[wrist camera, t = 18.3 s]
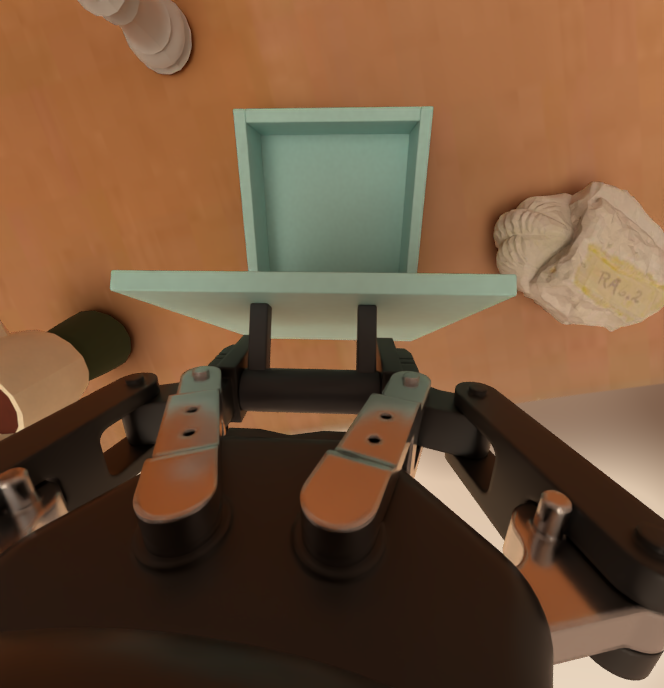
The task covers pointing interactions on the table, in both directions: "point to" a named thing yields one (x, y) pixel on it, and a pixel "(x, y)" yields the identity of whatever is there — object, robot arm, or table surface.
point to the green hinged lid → (316, 321)
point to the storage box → (333, 187)
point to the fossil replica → (585, 256)
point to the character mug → (55, 366)
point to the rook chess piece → (149, 30)
